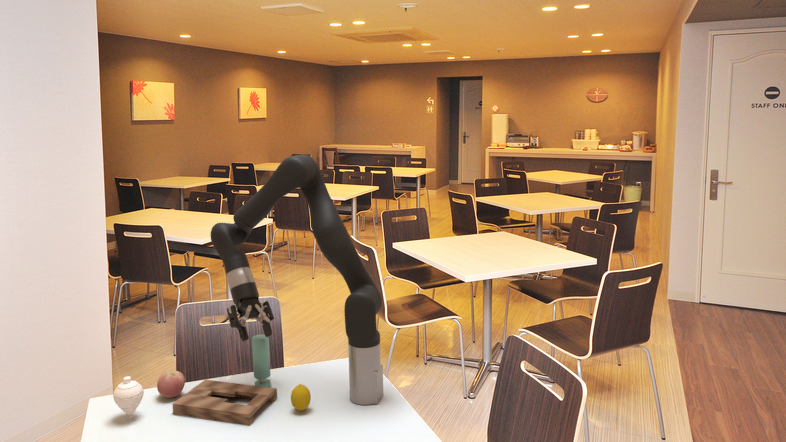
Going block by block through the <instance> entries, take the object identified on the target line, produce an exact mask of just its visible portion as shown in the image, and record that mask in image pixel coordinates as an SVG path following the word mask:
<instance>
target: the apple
mask: <svg viewBox="0 0 786 442" xmlns="http://www.w3.org/2000/svg"><path fill="white" fill-rule="evenodd" d="M185 385H186V379H185V375H184V374H183V373H182V372H181V371H178V370H173V369H169V370H165V371H164V372H162V373H161V374H160V375H159V377H158V379H157V383H156V389H157V391H158V393H159V395H160V396H162V397H164V398H165V397H166V398H169V399H170V398H175V397H178V396H179V395H180V394H181V393H182V391H183V390H184V388H185Z"/></svg>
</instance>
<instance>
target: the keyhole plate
mask: <svg viewBox="0 0 786 442" xmlns="http://www.w3.org/2000/svg"><path fill="white" fill-rule="evenodd" d="M213 395H215V396H222V397H228V398H229V397H230V398H235V397H236V398H242V399H243V398H244V399H251V400H249V402H248V403H246V404H241V403H232V402H228V398H221V397H215V396H213ZM277 400H278V388H275V387H270V388H269V387H261V386H254V384H253V385H251V384H244V383H236V382H229V381H228V382H227V381H221V380H213V379H204V380H203V381H201V382H200V383H199V384H196V386H193V388H192V389H191V390H189V391H187V393H185V394H183V395H182V396H181V397H179V398H178V399H177V400H175V401H174V402H173V403H172V414H173V415H176V416H183V417H188V418H189V417H190V418H196V419H204V420H211V421H218V422H224V423H231V424H235V425H237V424H238V425H244V426H251V425H252V424H253V423H254V421H255V420H254V414H255V413H256V412H257V411H258V410H259V409H260V408H261V407H263V406H264V405H265V404H266V403H267V402H272V403H273V402H274V403H275V402H276V401H277Z"/></svg>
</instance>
